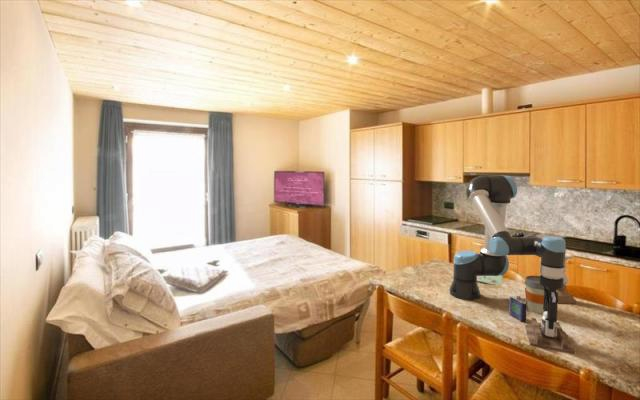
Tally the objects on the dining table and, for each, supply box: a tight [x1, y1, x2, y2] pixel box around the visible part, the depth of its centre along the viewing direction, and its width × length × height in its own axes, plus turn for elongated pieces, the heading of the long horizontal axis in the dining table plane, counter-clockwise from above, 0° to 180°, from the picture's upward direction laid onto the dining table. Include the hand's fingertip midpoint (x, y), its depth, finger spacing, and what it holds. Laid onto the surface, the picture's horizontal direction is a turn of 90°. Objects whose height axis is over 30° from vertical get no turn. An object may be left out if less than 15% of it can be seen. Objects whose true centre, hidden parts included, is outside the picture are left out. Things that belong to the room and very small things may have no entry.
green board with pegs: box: [477, 275, 503, 285], centre depth 201 cm, size 25×21×9 cm
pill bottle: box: [541, 311, 556, 336], centre depth 129 cm, size 5×5×8 cm
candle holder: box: [556, 252, 577, 305], centre depth 167 cm, size 11×11×24 cm
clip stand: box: [524, 317, 576, 355], centre depth 129 cm, size 16×14×4 cm
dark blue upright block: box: [508, 295, 528, 324], centre depth 147 cm, size 9×3×11 cm, turn 8°
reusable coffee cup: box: [524, 275, 544, 315], centre depth 155 cm, size 13×13×15 cm
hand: (548, 332), depth 129 cm, fingers closed on pill bottle, 5 cm apart
